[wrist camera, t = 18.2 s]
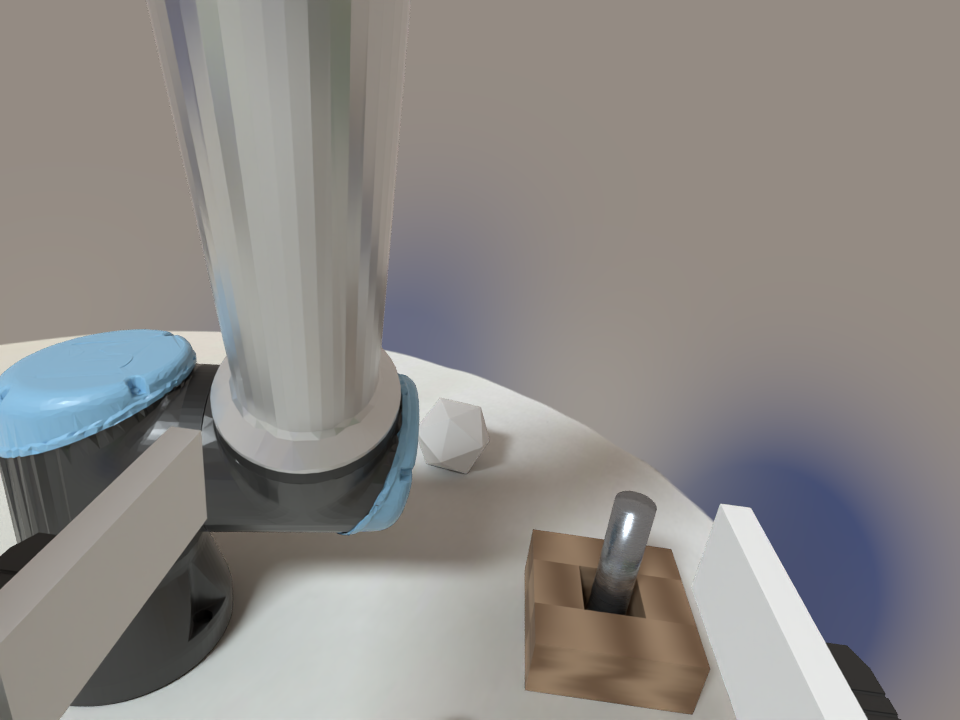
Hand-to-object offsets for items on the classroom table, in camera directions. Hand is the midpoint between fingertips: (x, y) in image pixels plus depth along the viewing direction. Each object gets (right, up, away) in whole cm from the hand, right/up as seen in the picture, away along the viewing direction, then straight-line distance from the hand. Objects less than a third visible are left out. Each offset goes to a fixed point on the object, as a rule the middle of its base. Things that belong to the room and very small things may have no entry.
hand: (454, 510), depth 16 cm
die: (-3, -9, +59) cm, 60 cm away
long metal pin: (+11, -20, +38) cm, 44 cm away
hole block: (+11, -20, +38) cm, 44 cm away
